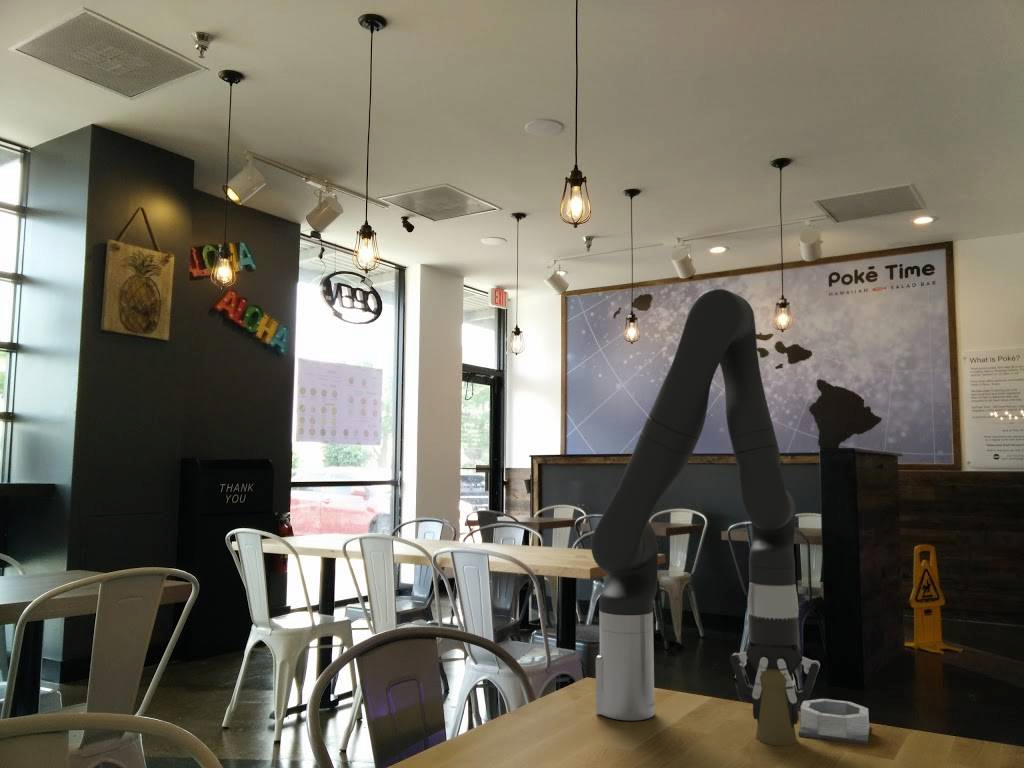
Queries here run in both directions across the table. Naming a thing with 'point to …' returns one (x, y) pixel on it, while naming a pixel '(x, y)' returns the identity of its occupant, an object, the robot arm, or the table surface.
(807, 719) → the duct collar
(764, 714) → the cork
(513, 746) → the table surface
